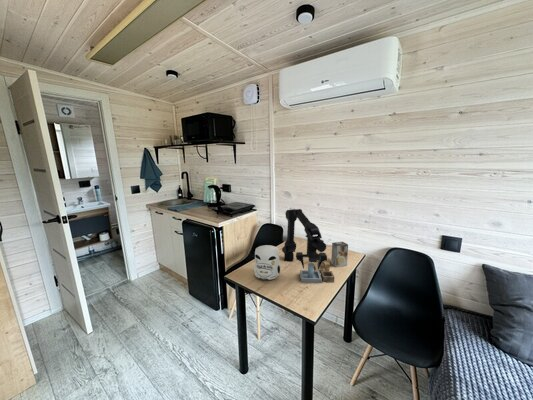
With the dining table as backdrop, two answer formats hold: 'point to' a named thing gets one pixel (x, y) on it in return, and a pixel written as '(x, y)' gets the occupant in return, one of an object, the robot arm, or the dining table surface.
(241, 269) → the dining table surface
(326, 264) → the light wooden block
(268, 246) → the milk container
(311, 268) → the dowel
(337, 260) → the coffee box
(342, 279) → the dining table surface
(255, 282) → the dining table surface
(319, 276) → the tray
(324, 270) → the tan cardboard box
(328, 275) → the socket block
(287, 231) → the robot arm
